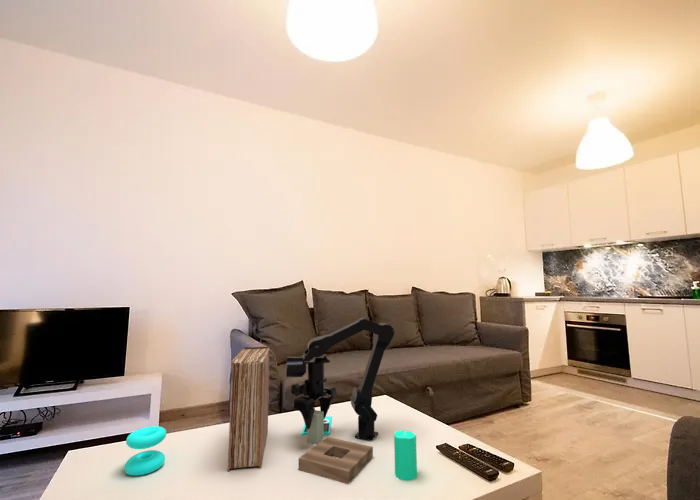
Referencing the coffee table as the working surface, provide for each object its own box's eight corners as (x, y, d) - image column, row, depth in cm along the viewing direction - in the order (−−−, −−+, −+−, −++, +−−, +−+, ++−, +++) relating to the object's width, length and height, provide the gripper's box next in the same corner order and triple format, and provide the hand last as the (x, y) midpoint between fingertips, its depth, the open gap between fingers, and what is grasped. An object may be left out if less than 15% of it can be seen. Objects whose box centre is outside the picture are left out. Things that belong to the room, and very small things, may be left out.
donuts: (163, 435, 95) (122, 441, 91) (161, 473, 94) (119, 480, 90) (169, 422, 104) (131, 427, 101) (167, 457, 103) (128, 463, 99)
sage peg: (313, 437, 117) (313, 409, 118) (323, 439, 115) (323, 411, 116) (307, 441, 113) (307, 413, 114) (317, 444, 111) (317, 415, 112)
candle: (417, 481, 89) (415, 433, 90) (394, 479, 90) (393, 432, 92) (417, 470, 95) (415, 425, 96) (395, 468, 96) (394, 423, 97)
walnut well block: (327, 446, 109) (327, 436, 110) (372, 457, 102) (372, 446, 103) (298, 469, 95) (298, 458, 96) (348, 483, 88) (348, 471, 88)
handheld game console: (332, 419, 134) (332, 415, 134) (330, 436, 118) (330, 432, 119) (306, 419, 134) (306, 415, 134) (301, 436, 118) (301, 432, 118)
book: (261, 469, 96) (263, 360, 99) (227, 472, 94) (231, 361, 98) (267, 432, 121) (269, 346, 124) (241, 434, 119) (243, 347, 123)
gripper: (311, 368, 128) (311, 411, 127) (280, 379, 112) (279, 429, 110) (336, 371, 123) (337, 416, 121) (308, 383, 107) (307, 435, 105)
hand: (315, 423), depth 115 cm, fingers open, 9 cm apart
